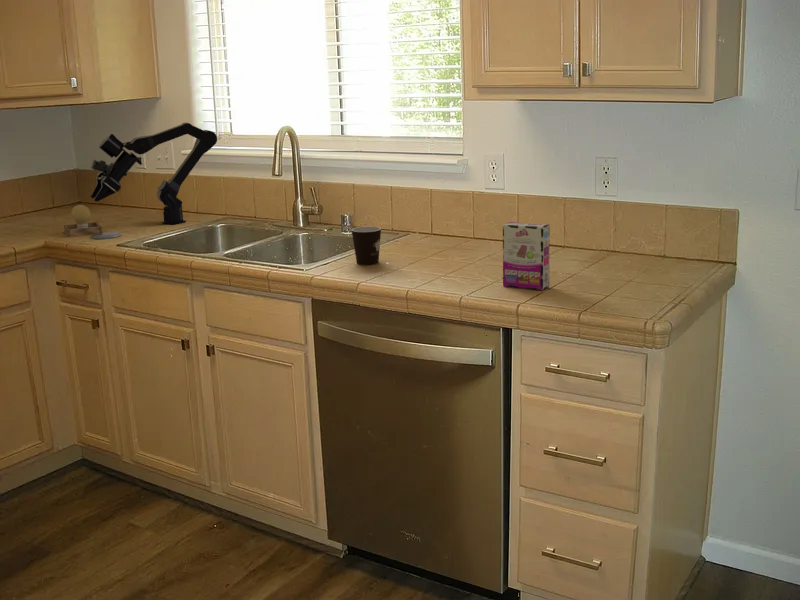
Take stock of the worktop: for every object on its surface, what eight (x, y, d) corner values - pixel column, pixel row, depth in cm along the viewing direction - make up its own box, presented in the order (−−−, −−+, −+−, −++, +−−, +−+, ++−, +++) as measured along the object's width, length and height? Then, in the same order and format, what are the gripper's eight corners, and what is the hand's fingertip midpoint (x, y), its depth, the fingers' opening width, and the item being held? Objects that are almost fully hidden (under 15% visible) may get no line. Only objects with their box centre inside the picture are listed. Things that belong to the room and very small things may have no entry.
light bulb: (88, 230, 331) (85, 203, 329) (95, 232, 327) (91, 205, 324) (71, 232, 327) (67, 205, 325) (77, 235, 323) (74, 207, 320)
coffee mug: (364, 267, 260) (363, 233, 257) (347, 262, 266) (345, 229, 264) (396, 260, 267) (395, 227, 264) (378, 256, 274) (376, 223, 271)
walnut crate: (97, 228, 334) (96, 221, 334) (102, 233, 324) (101, 226, 324) (64, 231, 330) (63, 225, 329) (68, 237, 320) (67, 230, 319)
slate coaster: (109, 232, 325) (109, 230, 325) (127, 235, 320) (127, 233, 320) (85, 237, 318) (85, 235, 317) (103, 240, 312) (103, 238, 312)
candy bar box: (550, 286, 233) (550, 223, 229) (542, 291, 229) (543, 227, 224) (510, 282, 238) (509, 220, 234) (502, 286, 234) (501, 224, 230)
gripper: (99, 149, 332) (71, 181, 330) (107, 153, 315) (78, 188, 314) (124, 169, 337) (96, 201, 335) (132, 174, 321) (104, 208, 319)
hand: (93, 199), depth 326 cm, fingers open, 9 cm apart
